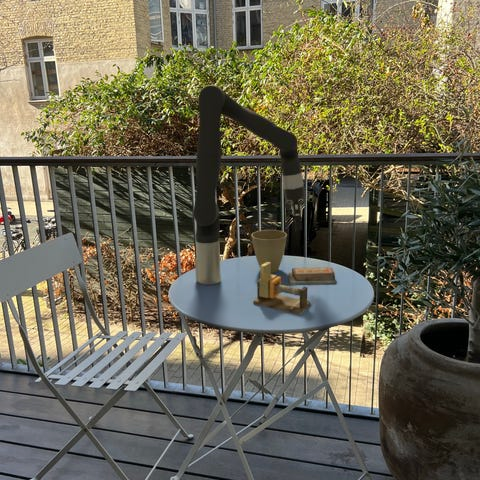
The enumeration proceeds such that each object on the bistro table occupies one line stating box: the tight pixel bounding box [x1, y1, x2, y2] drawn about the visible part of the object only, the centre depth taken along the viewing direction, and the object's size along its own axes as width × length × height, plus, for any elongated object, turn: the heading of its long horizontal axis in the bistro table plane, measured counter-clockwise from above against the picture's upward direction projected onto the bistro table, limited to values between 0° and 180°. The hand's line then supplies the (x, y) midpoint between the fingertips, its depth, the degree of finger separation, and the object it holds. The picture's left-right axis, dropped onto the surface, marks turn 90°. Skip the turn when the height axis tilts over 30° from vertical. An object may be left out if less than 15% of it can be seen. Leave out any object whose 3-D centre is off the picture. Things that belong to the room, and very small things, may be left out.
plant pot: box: [251, 229, 288, 274], centre depth 193 cm, size 15×15×16 cm
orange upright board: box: [270, 276, 282, 298], centre depth 160 cm, size 1×6×6 cm, turn 148°
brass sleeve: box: [258, 262, 278, 298], centre depth 161 cm, size 4×6×11 cm, turn 148°
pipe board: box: [253, 280, 312, 315], centre depth 159 cm, size 18×9×8 cm, turn 58°
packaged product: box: [288, 266, 337, 285], centre depth 183 cm, size 18×5×10 cm
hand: (299, 227), depth 175 cm, fingers open, 8 cm apart
